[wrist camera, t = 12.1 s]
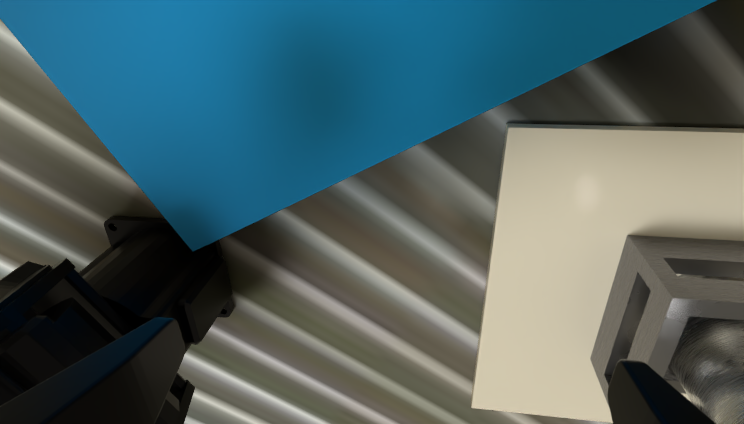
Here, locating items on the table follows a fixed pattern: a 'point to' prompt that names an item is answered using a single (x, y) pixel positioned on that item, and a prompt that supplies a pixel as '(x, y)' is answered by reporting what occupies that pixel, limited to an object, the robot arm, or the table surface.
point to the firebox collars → (665, 299)
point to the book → (299, 84)
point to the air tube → (712, 365)
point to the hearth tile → (586, 247)
